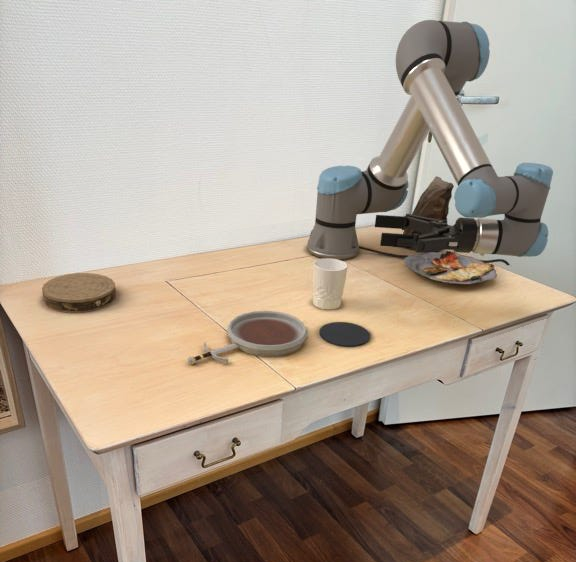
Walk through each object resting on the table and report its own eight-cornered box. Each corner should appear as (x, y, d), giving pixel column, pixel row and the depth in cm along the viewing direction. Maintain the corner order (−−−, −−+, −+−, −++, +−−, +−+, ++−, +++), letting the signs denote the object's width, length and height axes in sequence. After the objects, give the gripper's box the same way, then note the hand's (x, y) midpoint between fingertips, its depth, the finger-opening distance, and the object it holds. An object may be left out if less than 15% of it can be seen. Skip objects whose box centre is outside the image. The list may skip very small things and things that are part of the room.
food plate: (449, 254, 175) (451, 242, 173) (512, 280, 159) (515, 268, 157) (387, 266, 163) (389, 254, 161) (448, 297, 147) (451, 284, 145)
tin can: (112, 282, 143) (111, 270, 142) (119, 308, 131) (118, 296, 129) (43, 287, 138) (41, 275, 136) (44, 316, 126) (42, 303, 124)
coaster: (360, 322, 132) (360, 320, 131) (377, 345, 123) (377, 343, 122) (313, 324, 129) (313, 323, 129) (327, 348, 120) (327, 346, 120)
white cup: (338, 313, 135) (342, 272, 130) (306, 307, 137) (309, 267, 132) (346, 300, 141) (351, 261, 136) (315, 295, 143) (319, 256, 138)
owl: (419, 238, 186) (431, 173, 176) (454, 248, 179) (468, 182, 169) (397, 246, 178) (408, 179, 168) (432, 257, 171) (446, 188, 161)
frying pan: (164, 337, 115) (273, 302, 131) (165, 350, 117) (272, 313, 133) (213, 373, 105) (325, 330, 121) (213, 387, 106) (324, 343, 122)
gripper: (483, 272, 120) (381, 265, 120) (458, 235, 141) (371, 229, 142) (491, 236, 116) (386, 230, 116) (464, 204, 137) (375, 198, 138)
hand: (377, 229), depth 129 cm, fingers open, 13 cm apart
